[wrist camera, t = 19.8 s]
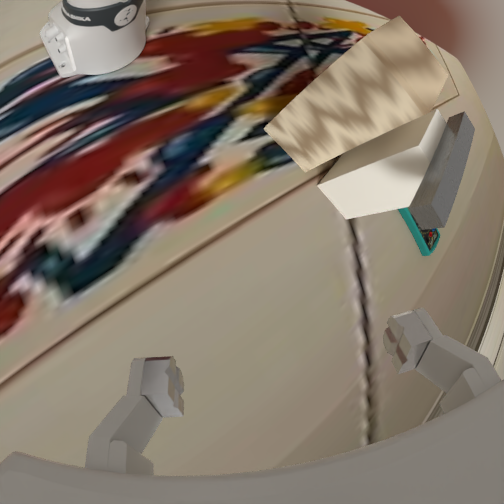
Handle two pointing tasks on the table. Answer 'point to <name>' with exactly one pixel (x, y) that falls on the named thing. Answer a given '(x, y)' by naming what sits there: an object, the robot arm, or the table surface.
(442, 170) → the rod
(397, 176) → the block
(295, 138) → the tall stand
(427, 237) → the digital multimeter
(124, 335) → the table surface
